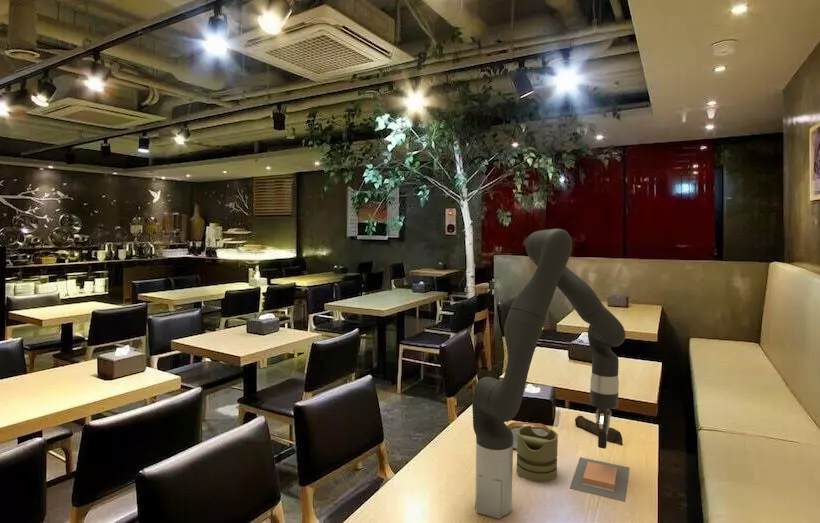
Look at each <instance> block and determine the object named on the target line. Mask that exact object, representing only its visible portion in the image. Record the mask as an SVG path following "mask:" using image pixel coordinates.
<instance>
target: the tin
mask: <svg viewBox="0 0 820 523" xmlns="http://www.w3.org/2000/svg"><path fill="white" fill-rule="evenodd" d="M529 425H531V428H532V430H533V431H534V432H535V433H536V434H538V435H547V434H549V432H550V428H549V427H548V426H547V425H545V424H544V423H535V422H517V421H515V422H510V423H509V424H507V426H508V427H509V429H510V430H511V431H512V433H513V450H516V451H517V431H518V429H519V428H521V427H523V426H529Z"/></svg>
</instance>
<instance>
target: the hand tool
mask: <svg viewBox="0 0 820 523" xmlns="http://www.w3.org/2000/svg"><path fill="white" fill-rule="evenodd" d="M574 423H575V424H574V425H575V426H576V427H579V428H582V429H584V430H586V431H589V432H591V433H593V434H595V435H597V427H596V422H594V421H593V420H590V419H588V418H586V417H584V416H583V415H577V417H575V418H574ZM607 443H610V444H616V445H619V446H623V443H624V442H623V437H622V433H621V431H619V430H617V429H615V428H614V427H610V426H609V429H608V435H607Z"/></svg>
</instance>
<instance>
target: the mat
mask: <svg viewBox="0 0 820 523" xmlns="http://www.w3.org/2000/svg"><path fill="white" fill-rule="evenodd" d="M577 462H578V463H577V465H576V468H575V471H574V475H573V477H572V480H571V483H570V485H569V490H573V491H578V492H581V493H586V494H590V495H594V496H598V497H603V498H607V499H610V500H614V501H615V500H616V501H618V502H619V501H621V502H624V503H626V500H627V499H626V498H627V493H628V492H627V491H628V485H629V477H630V470H631V469H630V467H629V466H625V465H619V464H615V463H610V462H605V461H601V460H596V459H591V458H585V457H582V456H580V457H579V459H578V461H577ZM588 462H591V463H596V464H601V465H605V466H610V467H615V468H617V478H616V484H615V489H614V492H613V491H609V490H604V489H600V488H596V487H591V486H587V485H583V476H584V473H585V470H586V466H587V463H588Z"/></svg>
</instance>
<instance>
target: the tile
mask: <svg viewBox="0 0 820 523" xmlns="http://www.w3.org/2000/svg"><path fill="white" fill-rule="evenodd" d="M616 478H617V468H615V467H610V466H605V465H601V464H596V463H591V462H588V463H587V466H586V470H585V473H584V476H583V485H587V486H591V487H596V488H600V489H604V490H609V491H613V492H614V489H615V484H616Z"/></svg>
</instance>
